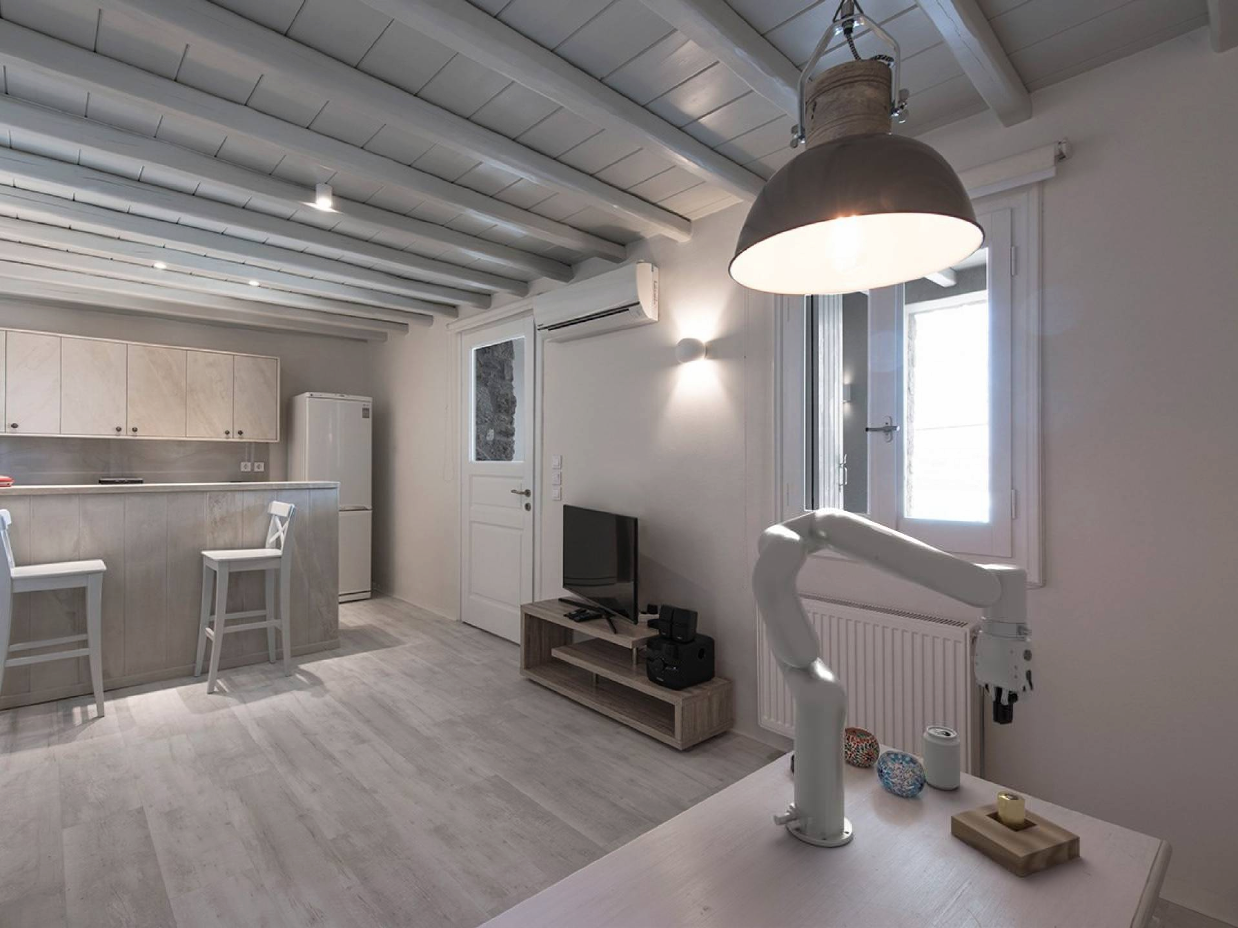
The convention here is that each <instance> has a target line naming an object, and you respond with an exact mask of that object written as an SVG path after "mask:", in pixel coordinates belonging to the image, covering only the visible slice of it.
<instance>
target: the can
mask: <svg viewBox="0 0 1238 928" xmlns="http://www.w3.org/2000/svg"><path fill="white" fill-rule="evenodd" d="M923 769H924V773H925V775H926V780H925V781H926V782H927V783H928V784H929V786H932V787H934V788H936V789H940V790H945V791H949V790H955V789H956V788H957V787H959V786H961V785H960V784H961V740H960V738H959V737H958V735H957V732H956V731H955V730H953V729H951V728H949V727H945V726H941V725H930V726H927V727H926V728H925V731H924V733H923V734H922V770H923Z"/></svg>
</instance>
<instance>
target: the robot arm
mask: <svg viewBox="0 0 1238 928" xmlns="http://www.w3.org/2000/svg"><path fill="white" fill-rule="evenodd" d="M823 550H829V551H831V552H833V553H835V554H838V555H840V556H843V557H844V558H845V557H846V558H848V559H850V560H852V561H855V562H858V563H861V564H862V565H865V566H868V567H869V568H872V569H874V570H877V571H879V572H881V573H884V574H887V575H889V576H892V577H894V578H896V579H899V580H902V581H904V582H905V581H906V582H909V583H911V584H912V583H913V584H916V585H917V586H920V587H924V588H926V589H928V590H931V591H934V592H936V593H938V594H941V595H943V596H946V597H949V598H951V599H953V600H955V601H958V602H960V603H962V604H965V605H967V606H968V607H969V606H970V607H972V608H976V609H981V630H979V631H978V633H977V634H978V635H977V639H976V644H975V650H974V664H973V666H974V671H973V672H974V675H975V677H976V679H975V681H976V684H978V685H980V686H981V687H982V688H984V689H985V690H986V692H988V694H989V698H990V699H989V700H991V701H992V715H993V716H992V717H993V718H992V721H993V722H994V723H997V724H998V725H1001V726H1004V725H1009V724H1012V723H1013V719H1014V704H1017V702H1018V701H1024V702H1026V701H1032V699H1033V696H1032V692H1033V691H1035V690H1036V689H1037V666H1036V664H1037V663H1036V656H1035V651H1034V646H1033V642H1032V640H1031V639H1030V638H1028V636H1029V637H1030V636H1032V634H1033V631H1032V630H1033V629H1032V628H1028V620H1027V619H1028V573H1027V571H1026V569H1024V568H1023V567H1021V566H1019V565H1014V564H1007V563H988V564H980V563H974V562H969V561H968V560H965V559H963V558H960V557H958V556H956V555H953V554H951V553H947V552H945V551H943V550H941V549H940V550H939V549H938V548H935V547H934V546H930V545H928V544H926V543H925V542H922V541H920V540H918V539H916V538H914V537H911V536H909V535H906V534H904V533H902V532H899V531H896V530H894V529H892V528H889V527H887V526H884V525H881V524H879V523H876V522H874V521H872V520H869V519H867V518H865V517H863V516H859V515H857V514H855V513H852V512H849V511H846V510H843V509H839V508H834V507H824V508H819V509H817V510H814V511H812V512H809V513H806V514H804V515H801V516H798V517H794V518H791V519H789V520H785V521H783V522H781V523H777V524H775V525H772V526H770V527H768V528H766V529H765V530H764V531H763V532H762V533H761V534H760V536H759V539H758V540H757V552H758V554H759V556H758V559H757V560H756V563H755V564H754V569H753V572H752V578H751V587H752V593H753V598H754V600H755V603H756V606H757V608H758V610H759V613H760V616H761V618H762V621H763V623H764V625H765V628H764V630H765V631H764V632H765V638H766V642H767V644H768V646H769V648H770V651H771V652H772V656H773V657H774V660H775V662H776V664H777V666H778V668H779V670H780V673H781V675H782V677H783V680H784V682H785V683H786V686H787V688H788V690H789V691H790V693H791V694H792V698H793V699H794V702H795V709H796V710H795V721H794V726H793V727H794V728H793V729H794V730H793V731H794V732H793V753H794V754H793V765H794V766H793V767H794V768H793V769H794V770H793V778H794V779H793V782H794V783H793V789H794V790H793V796H794V797H793V802H791V803H789V809H787V810H786V812H785V813H778V814H775V815H774V816H773V822H774V824H775V825H776V827H779V826H785V825H786V827H787V828H788V831H789V832H790V833H791V834H792V835H793V836H794V837H796V838H798V839H800V840H801V841H802V842H806V843H808V844H810V845H813V846H818V847H827V848H828V847H834V848H835V847H839V846H843V845H846V844H847V843H848V842H850V841H851V840H852V839H853V835H854V834H853V833H854V829H853V828H854V827H853V825H852V823H851V822H850V820H849V819H847V817H845V734H846V733H845V732H846V731H845V730H846V722H847V714H848V702H849V701H848V696H847V692H846V688H845V687H844V685H843V683H842V682H841V680H840V679H839V678H838V676H837V675H836V674H835V673H834V672H833V670H831V668H830V667H829V666H828V665H827V663H826V661H825V659H824V655H823V654H822V652H821V642H820V641H821V640H820V637H819V634H818V632H817V630H816V628H815V627H814V625H813V623H812V621H811V618H810V617H809V615H808V614H809V613H807V610H806V608H805V606H804V604H803V601H802V599H801V596H800V594H799V590H798V588H797V587H798V586H797V579H798V575H799V574H800V571H801V570H802V569H803V567H804V565H805V564H806V562H807V559H808V556H809V555H810V556H811V555H813V554H816V553H819V552H822V551H823Z"/></svg>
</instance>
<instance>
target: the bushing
mask: <svg viewBox="0 0 1238 928" xmlns="http://www.w3.org/2000/svg"><path fill="white" fill-rule="evenodd" d="M997 802H998V823H1000V824H1002V825H1004V826H1006V827H1007V828H1009V829H1011V830H1013V831H1014V832H1018V831H1021V830H1025V809H1026V799H1025V797H1023V796H1022V795H1020V794H1019V793H1016V792H1014V791H1013V792H1012V791H1007V790H1001V791H998V793H997Z"/></svg>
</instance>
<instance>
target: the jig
mask: <svg viewBox="0 0 1238 928" xmlns="http://www.w3.org/2000/svg"><path fill="white" fill-rule="evenodd" d="M950 833H951V835H953V836H955V837H956V838H957V839H960V841H962V842H964V843H965V844H968V845H969V846H970V847H972V848H973V849H975V850H977V851H979V852H980V853H982V854H983V855H985V856H986V857H988V858H990V859H991V860H992V861H995V862H997V864H998V865H999V864H1000V865H1001V866H1002V867H1004V868H1005V869H1007V870H1009V871H1011V872H1012V873H1014V874H1015V875H1017V876H1018V877H1020V878H1022V877H1026V876H1027V875H1030V874H1033V873H1036V872H1039V871H1042V870H1044V869H1046V868H1050V867H1052V866H1055V865H1058V864H1061V863H1064V862H1066V861H1069V860H1071V859H1075V858H1077V857H1080V856H1081V853H1080V849H1081V847H1080V846H1081V845H1080V843H1081V841H1080V840H1081V839H1080V836H1079V835H1077V834H1075V833H1073V832H1071V831H1069V830H1068V829H1065V828H1064V827H1061V825H1060V826H1059V825H1058V824H1056V823H1055V822H1052V821H1050V820H1048V819H1046V818H1044V817H1042V816H1040V815H1038V814H1036V813H1035V812H1033V811H1032V810H1031V811H1030V810H1029V809H1026V808H1025V830H1021V831H1018V832H1014V831H1013V830H1011V829H1009V828H1007V827H1006V826H1004V825H1002V824H1000V823H998V801H997V802H994V803H990V804H987V805H983V806H980V807H976V808H973V809H970V810H966V811H962V812H959V813H955V814H953V815H950Z"/></svg>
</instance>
